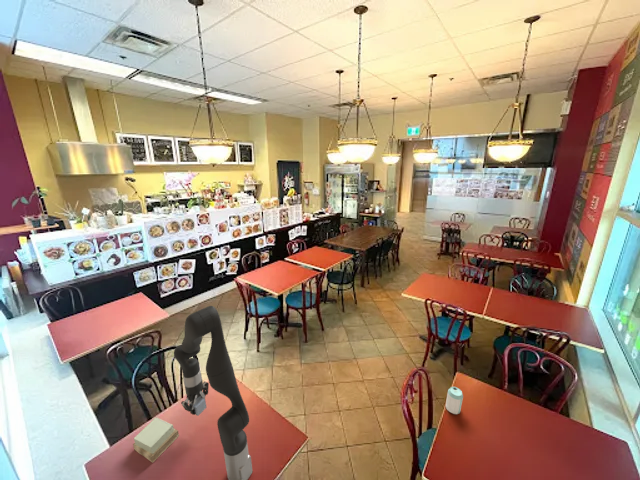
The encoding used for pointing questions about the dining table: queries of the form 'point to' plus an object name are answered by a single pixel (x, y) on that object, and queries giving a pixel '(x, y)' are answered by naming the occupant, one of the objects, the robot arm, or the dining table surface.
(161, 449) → the base block
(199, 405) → the slate cube
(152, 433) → the top block
